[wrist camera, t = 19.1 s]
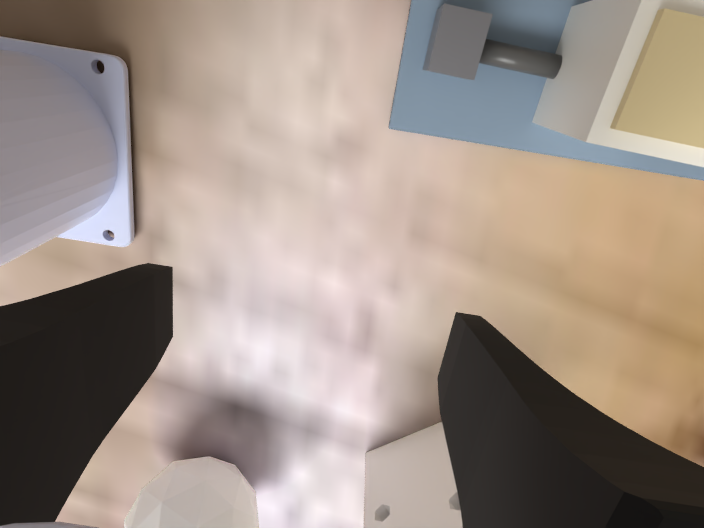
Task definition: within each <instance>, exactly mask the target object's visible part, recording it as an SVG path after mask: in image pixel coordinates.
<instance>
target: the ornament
mask: <svg viewBox="0 0 704 528" xmlns="http://www.w3.org/2000/svg"><path fill="white" fill-rule="evenodd" d="M124 528H259V522H258V512H257V501H256V492H255V491H254V489H253V488H252V487H251V485H250V484H249V483H248V481H247V480H246V479H245V477H244V476H243V475H242V473H241V472H240V471H239V469H238V468H237V467H236V465H234V464H231V463H228V462H225V461H222V460H219V459H216V458H213V457H210V456H208V457H201V458H193V459H186V460H178V461H173V462H171V463H170V464H169V465H168V466H167V467H166V468H165V469H164V470H162V471H161V472H160V473H159V474H158V475H157V476H156V477H154V478H153V479H152V480H151V481H150V482H149V483H148V484H147V485H145V486H144V487H143V488H142V490H141V491H140V493H139V495H138V497H137V499H136V500H135V502H134V504H133V506H132V507H131V509H130V511H129V513H128V514H127V516H126V518H125V520H124Z"/></svg>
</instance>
